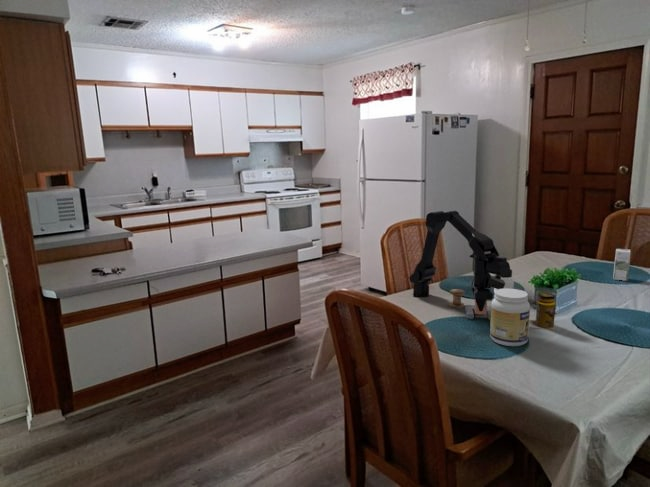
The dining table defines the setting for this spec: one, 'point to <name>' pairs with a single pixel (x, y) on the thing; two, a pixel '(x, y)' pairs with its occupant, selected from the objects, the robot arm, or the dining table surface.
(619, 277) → the syrup box
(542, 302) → the condiment
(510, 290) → the supplement tub
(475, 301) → the copper brown block
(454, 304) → the door knob
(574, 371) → the dining table surface
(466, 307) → the notched board
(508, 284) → the medicine bottle
